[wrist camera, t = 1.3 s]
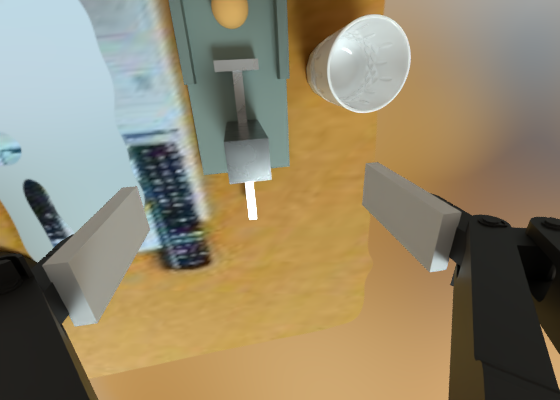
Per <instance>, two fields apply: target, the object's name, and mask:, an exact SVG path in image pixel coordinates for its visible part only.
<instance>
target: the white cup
mask: <svg viewBox="0 0 560 400" xmlns="http://www.w3.org/2000/svg"><path fill="white" fill-rule="evenodd" d="M410 60H411V54H410V47H409V42H408V39H407V36H406V34H405V32H404V31H403V29H402V28H401V27H400V26H399V24H398V23H397V22H395V21H394V20H393V19H391V18H389V17H386V16H383V15H378V14H371V15H365V16H362V17H360V18H357V19H355V20H354V21H352V22H351V23H349V24H347V25H346V26H344V27H343V28H341V29H339V30H338V31H336V32H334V33H333V34H332V35H330V36H329V37H327V38H326V39H325V40H324V41H323V42H321V43H319V44H318V45H317V47H316V48H315V49H314V50H313V52H312V53H311V54H310V56H309V60H308V63H307V67H306V72H307V81H308V83H309V85H310V87H311V88H312V90H313V92H314V93H316V94H317V95H319V96H320V97H322V98H323V99H325V100H327V101H329V102H331V103H333V104H335V105H338V106H340V107H343V108H346V109H348V110H350V111H353V112H358V113H368V112H373V111H376V110H378V109H380V108H382V107H384V106H385V105H387V104H388V103H390V102H391V101H392V100H393V99H394V98H395V97H396V96H397V94H398V93H399V92H400V90H401V89H402V87H403V85H404V83H405V81H406V78H407V76H408V72H409V68H410Z"/></svg>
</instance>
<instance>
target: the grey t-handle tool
mask: <svg viewBox="0 0 560 400" xmlns="http://www.w3.org/2000/svg"><path fill="white" fill-rule="evenodd" d="M213 62H214V69H215V72H232V74H233V83H234V91H235V100H236V109H237V117H238V121H229V122H227V123H226V130H225V136H224V148H225V155H226V162H227V169H228V176H229V183H230V184H236V183H245V186H246V195H247V204H248V212H249V220H252V219H257V214H256V204H255V194H254V184H253V182H255V181H264V180H272V179H271V165H270V151H269V138H268V136H267V135H266V133H265V131H264V129H263V128H262V126H261V124H260V123H259V121H258V119H255V120H247V116H246V106H245V96H244V86H243V76H242V71H253V70H259V65H258V58H257V59H237V60H217V61H213Z"/></svg>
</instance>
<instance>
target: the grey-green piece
mask: <svg viewBox="0 0 560 400" xmlns="http://www.w3.org/2000/svg"><path fill="white" fill-rule="evenodd" d="M247 2H248V16H247V18H246V20H245V22H244V23H243V25H241V26H240V27H238V28H236V29H228V28H225V27H223V26H222V25H220V24H219V23H218V22H217V20H216V19H215V17H214V15H213V12H212V8H211V0H169V6H170V11H171V16H172V22H173V27H174V32H175V38H176V43H177V48H178V54H179V59H180V64H181V69H182V75H183V80H184V85H188V90H189V96H190V101H191V107H192V112H193V118H194V123H195V128H196V134H197V139H198V145H199V150H200V156H201V161H202V167H203V172H204V175H208V174H218V173H228V169H227V162H226V155H225V148H224V136H225V130H226V123H227V122H229V121H238V117H237V109H236V100H235V91H234V83H233V74H232V72H215V69H214V62H213V61H217V60H237V59H257V58H258V65H259V70H253V71H242V76H243V86H244V96H245V106H246V116H247V120H255V119H258V121H259V123H260V124H261V126H262V128H263V129H264V131H265V133H266V135H267V136H268V138H269V151H270V165H271V168H277V167H287V166H290V165H289V139H288V113H287V88H286V79H289V51H288V21H287V0H247Z"/></svg>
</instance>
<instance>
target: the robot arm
mask: <svg viewBox="0 0 560 400" xmlns="http://www.w3.org/2000/svg"><path fill="white" fill-rule="evenodd" d="M362 205H363V206H364V207H365V208H366V209H367V210H368V211H369V212H370V213H371V214H372V215H373V216H374V217H375V218H376V219H377V220H378V221H379V222H380V223H381V224H382V225H383V226H384V227H385V228H386V229H387V230H388V231H389V232H390V233H391V234H392V235H393V236H394V237H395V238H396V239H397V240H398V241H399V242H400V243H401V244H402V245H403V246H404V247H405V248H406V249H407V250H408V251H409V252H410V253H411V254H412V255H413V256H414V257H415V258H416V259H417V260H418V261H419V262H420V263H421V264H422V265H423V266H424V267H425V268H426V269H427V270H428V271H429V272H434V271H441V270H446V268H447V265H448V261H449V258H451V259H452V260H454V261H455V262H456V267H455V270H454V274H453V277H452V281H451V284H450V285H452V286H454V290H453V314H452V336H451V358H450V379H449V380H450V381H449V400H560V390H559V388H558V384H557V381H556V378H555V374H554V371H553V367H552V364H551V361H550V357H549V354H548V350H547V347H546V343H545V340H544V337H543V333H542V330H541V327H540V325H541V326H542V328H543V329H544V331H545V333H546V334H547V336H548V337H549V339H550V340H551V342H552V343H553V345H554V346H555V348H556V350H557V351H558V353H559V354H560V219H556V218H551V217H550V218H547V217H534V218H531V220H530V222H529V224H528V227H527V228H512V227H511V226H510V224H509V223H507V222H506V221H504V220H502V219H500V218H497V217H493V216H489V215H473V216H472V215H470V214H469V213H467V212H465V211H463V210H462V209H460V208H458V207H457V206H455V205H454V206H453V204H451V203H450V202H447V201H446V200H445V199H443V198H441V197H439V196H437V195H434V194H431V193H429V192H427V191H425V190H424V189H422V188H420V187H418V186H417V185H415V184H414V183H412V182H410V181H408V180H407V179H405V178H403V177H402V176H400V175H398V174H397V173H395V172H393V171H392V170H390V169H388V168H386V167H385V166H383V165H382V164H380V163H378V162H376V163H366V168H365V179H364V190H363V202H362ZM149 231H150V228H149V224H148V221H147V218H146V214H145V211H144V208H143V205H142V202H141V198H140V195H139V191H138V188H137V186H135V187H126V188H121V189H120V191H118V192H117V193H116V194H115V195H114V196H113V197H112V198H111V199H110V200H109V201H108V202H107V203H106V204H105V205H104V206H103V207H102V208H101V209H100V210H99V211H98V212H97V213H96V214H95V215H94V216H93V217H92V218H91V219H90V220H89V221H88V222H86V223H85V224H84V225H83V226H82V227H81V228H80V229H79V230H78V231H77V232H76V233H75V234H73V235H71V236H69V237H67V238H66V239H64V240H62V241H61V242H60V243H58V244H57V245H56V246H55V247H54V248H53V249H52V251H50V252H49V253H48V254H47V255H46V257H43V259H42V260H40V261H39V262H38V263H37V262H35V261H33V260H31V259H28V258H26V257H23V256H22V255H21V254H12V253H7V252H0V400H98V398H97V396H96V394H95V392H94V390H93V388H92V386H91V383H90V381H89V379H88V377H87V375H86V373H85V371H84V369H83V366H82V364H81V362H80V360H79V358H78V356H77V354H76V352H75V350H74V347H73V345H72V343H71V341H70V339H69V337H68V335H67V333H66V331H65V329H64V327H63V325H62V323H63V322H64V320H65V319H66V317H67V316H68V315H69V316H70V318H71V320H72V322H73V324H74V326H81V325H88V324H94V323H98V321H99V320H100V318H101V316H102V314H103V312H104V311H105V309H106V307H107V305H108V304H109V302H110V300H111V298H112V296H113V295H114V293H115V291H116V289H117V288H118V286H119V284H120V282H121V280H122V279H123V277H124V275H125V273H126V272H127V270H128V268H129V266H130V264H131V263H132V261H133V259H134V257H135V256H136V254H137V252H138V250H139V248H140V247H141V245H142V243H143V241H144V240H145V238H146V236H147V234H148V233H149Z"/></svg>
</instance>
